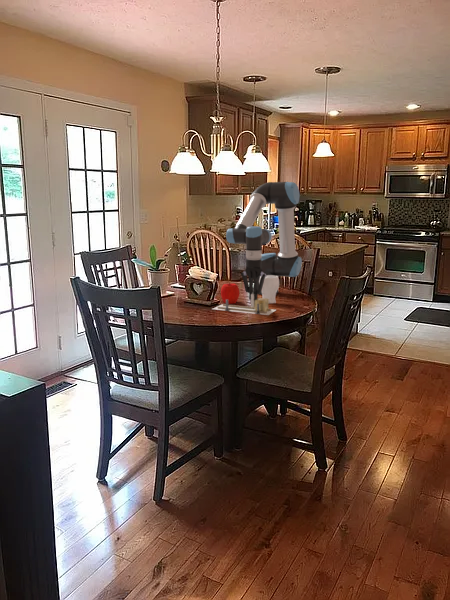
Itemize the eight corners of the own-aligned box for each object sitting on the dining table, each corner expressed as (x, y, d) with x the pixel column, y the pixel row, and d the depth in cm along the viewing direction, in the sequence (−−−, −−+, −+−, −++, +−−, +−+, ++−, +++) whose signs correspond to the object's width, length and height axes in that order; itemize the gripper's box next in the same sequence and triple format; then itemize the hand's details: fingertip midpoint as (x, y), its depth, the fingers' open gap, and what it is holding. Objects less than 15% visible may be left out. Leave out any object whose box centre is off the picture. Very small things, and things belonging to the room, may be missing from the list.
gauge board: (221, 307, 262) (221, 294, 261) (276, 312, 250) (277, 299, 249) (211, 312, 251) (211, 298, 250) (268, 318, 239) (268, 304, 238)
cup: (277, 307, 262) (278, 278, 259) (257, 306, 264) (257, 277, 261) (279, 302, 272) (280, 275, 269) (260, 302, 274) (260, 274, 271)
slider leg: (258, 309, 250) (259, 297, 249) (268, 310, 248) (268, 298, 247) (252, 313, 243) (253, 301, 242) (262, 314, 241) (262, 301, 239)
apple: (234, 302, 273) (234, 280, 271) (242, 306, 264) (242, 283, 262) (217, 304, 269) (217, 281, 267) (225, 308, 260) (225, 284, 258)
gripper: (238, 259, 242) (238, 306, 247) (263, 260, 237) (262, 309, 242) (244, 257, 249) (244, 303, 254) (269, 258, 244) (268, 306, 249)
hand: (253, 306), depth 248 cm, fingers closed
